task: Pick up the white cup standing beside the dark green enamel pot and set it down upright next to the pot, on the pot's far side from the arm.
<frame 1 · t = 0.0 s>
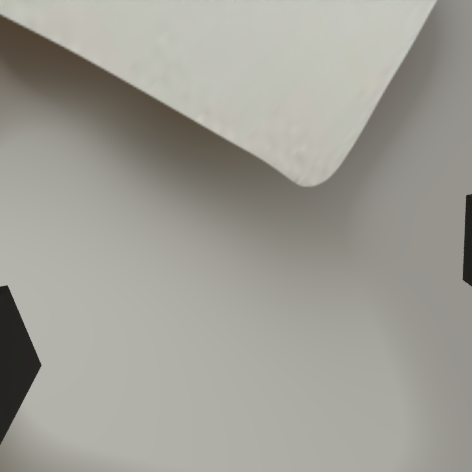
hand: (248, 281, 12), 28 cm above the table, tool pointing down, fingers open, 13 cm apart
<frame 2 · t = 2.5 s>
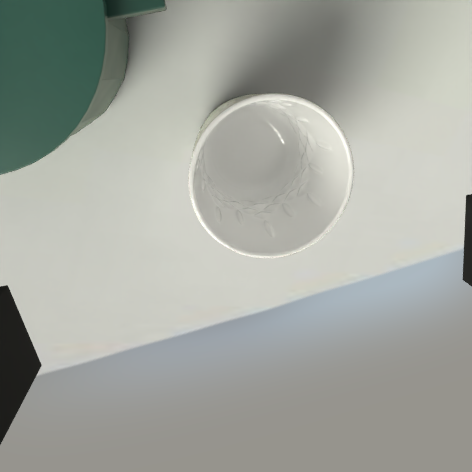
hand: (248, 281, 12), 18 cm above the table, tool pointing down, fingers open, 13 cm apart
pot: (23, 33, 25), on the table
white cup: (245, 147, 29), on the table
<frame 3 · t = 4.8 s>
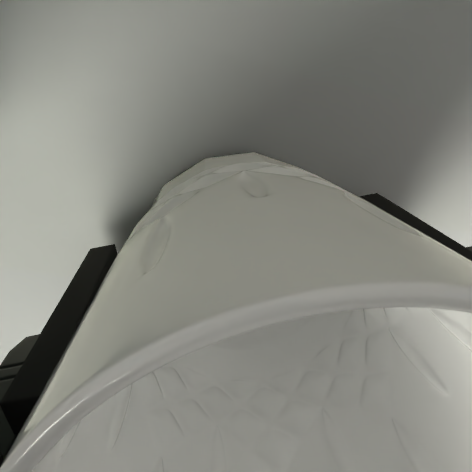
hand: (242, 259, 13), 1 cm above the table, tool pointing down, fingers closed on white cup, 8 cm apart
white cup: (239, 249, 14), on the table, touching gripper
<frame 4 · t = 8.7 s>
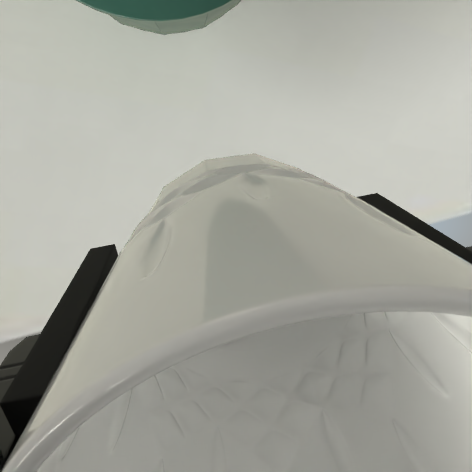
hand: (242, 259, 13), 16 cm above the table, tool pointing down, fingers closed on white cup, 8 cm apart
white cup: (239, 250, 14), point 15 cm above the table, touching gripper
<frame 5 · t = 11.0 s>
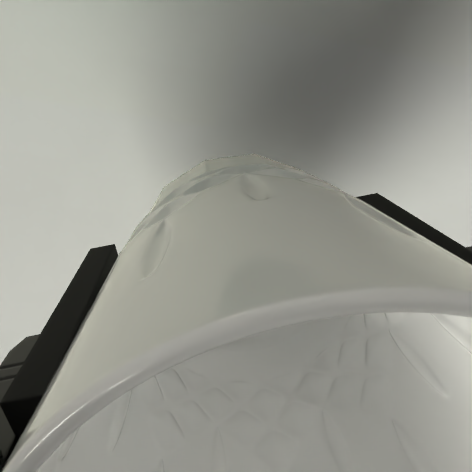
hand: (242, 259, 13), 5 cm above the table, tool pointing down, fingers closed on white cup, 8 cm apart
white cup: (239, 250, 14), point 4 cm above the table, touching gripper
when the fingers open (1 cm above the table, at t = 12.5 s): white cup stays where it is, on the table.
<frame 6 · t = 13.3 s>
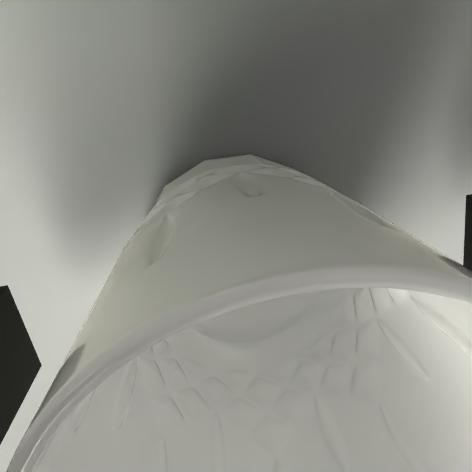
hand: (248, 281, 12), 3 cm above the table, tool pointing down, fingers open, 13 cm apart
white cup: (237, 246, 15), on the table
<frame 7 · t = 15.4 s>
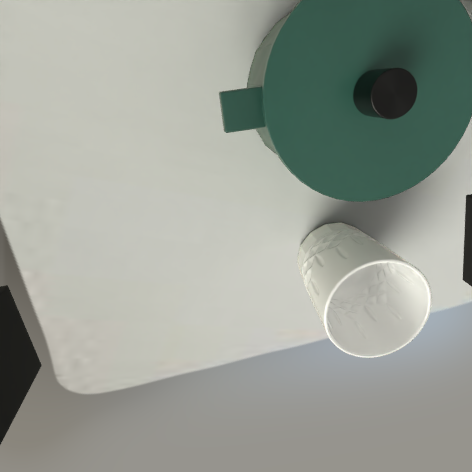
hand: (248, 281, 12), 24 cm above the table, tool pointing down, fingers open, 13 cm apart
pot lid: (369, 93, 25), point 9 cm above the table, touching pot
pot: (323, 90, 33), on the table
white cup: (331, 255, 39), on the table
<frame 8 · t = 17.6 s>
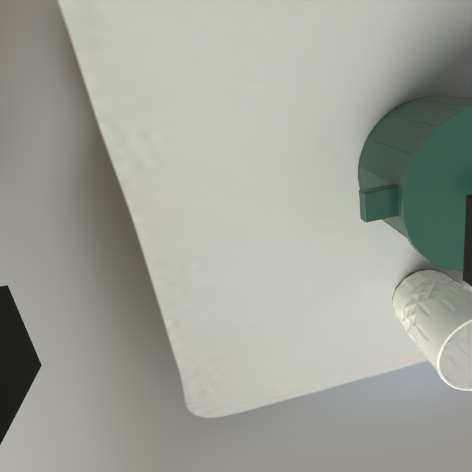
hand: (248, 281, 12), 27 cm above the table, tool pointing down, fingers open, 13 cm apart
pot: (420, 165, 39), on the table
white cup: (420, 296, 45), on the table
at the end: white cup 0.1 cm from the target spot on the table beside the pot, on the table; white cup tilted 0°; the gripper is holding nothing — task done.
